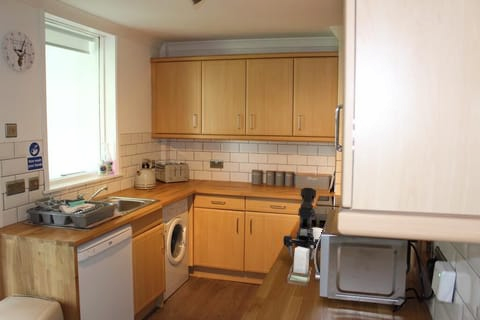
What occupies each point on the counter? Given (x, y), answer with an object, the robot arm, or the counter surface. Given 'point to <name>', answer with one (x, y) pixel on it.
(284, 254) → the counter surface
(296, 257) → the skincare box
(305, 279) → the wooden divided tray
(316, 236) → the white cup
